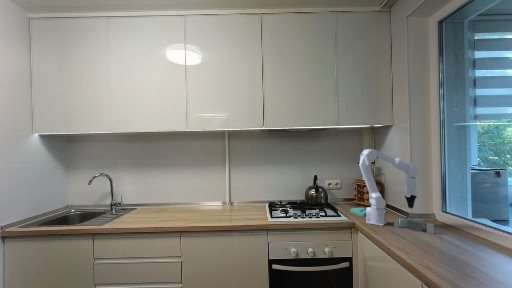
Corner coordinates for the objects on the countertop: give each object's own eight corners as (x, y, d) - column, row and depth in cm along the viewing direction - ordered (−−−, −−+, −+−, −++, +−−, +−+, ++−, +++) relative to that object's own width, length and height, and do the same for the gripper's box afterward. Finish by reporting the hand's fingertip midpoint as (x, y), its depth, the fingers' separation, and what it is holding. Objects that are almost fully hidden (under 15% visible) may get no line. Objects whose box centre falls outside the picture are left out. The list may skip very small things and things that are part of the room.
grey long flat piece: (393, 226, 153) (393, 218, 153) (394, 226, 154) (394, 218, 154) (433, 233, 140) (433, 224, 140) (433, 233, 141) (433, 224, 141)
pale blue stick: (401, 227, 151) (401, 219, 151) (400, 226, 152) (400, 218, 152) (423, 227, 150) (423, 219, 151) (422, 226, 151) (422, 219, 152)
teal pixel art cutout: (386, 213, 186) (356, 209, 199) (386, 210, 186) (356, 206, 199) (377, 219, 171) (346, 214, 184) (377, 215, 171) (346, 211, 184)
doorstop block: (409, 230, 146) (409, 221, 147) (410, 228, 151) (410, 219, 151) (422, 232, 143) (422, 222, 143) (422, 229, 147) (422, 220, 147)
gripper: (415, 186, 151) (415, 211, 150) (421, 184, 162) (421, 206, 161) (401, 185, 155) (401, 209, 155) (407, 183, 166) (407, 205, 166)
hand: (410, 207), depth 159 cm, fingers closed
